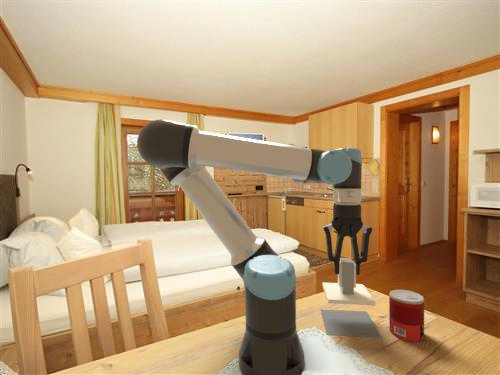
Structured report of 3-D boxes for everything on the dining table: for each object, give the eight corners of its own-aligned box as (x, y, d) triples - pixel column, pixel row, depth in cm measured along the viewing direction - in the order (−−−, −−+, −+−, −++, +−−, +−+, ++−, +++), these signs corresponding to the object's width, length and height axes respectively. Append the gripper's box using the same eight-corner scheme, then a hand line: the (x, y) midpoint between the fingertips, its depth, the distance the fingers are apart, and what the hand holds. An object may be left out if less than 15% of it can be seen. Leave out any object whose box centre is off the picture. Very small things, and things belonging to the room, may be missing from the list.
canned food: (429, 346, 68) (429, 302, 68) (394, 343, 70) (394, 300, 69) (417, 329, 75) (417, 290, 75) (386, 326, 77) (385, 288, 77)
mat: (326, 337, 72) (326, 334, 72) (320, 311, 86) (320, 309, 86) (382, 340, 71) (382, 337, 70) (366, 314, 84) (366, 311, 84)
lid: (328, 303, 73) (328, 266, 73) (322, 285, 85) (322, 253, 84) (375, 305, 71) (375, 267, 71) (362, 287, 83) (363, 254, 83)
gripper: (319, 204, 75) (319, 289, 75) (381, 205, 72) (380, 292, 73) (316, 202, 82) (316, 279, 83) (372, 202, 80) (372, 281, 81)
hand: (346, 285), depth 78 cm, fingers closed on lid, 3 cm apart
